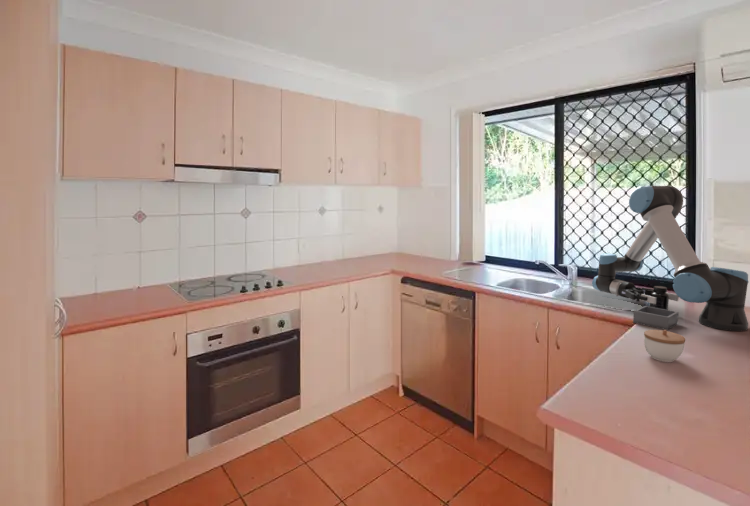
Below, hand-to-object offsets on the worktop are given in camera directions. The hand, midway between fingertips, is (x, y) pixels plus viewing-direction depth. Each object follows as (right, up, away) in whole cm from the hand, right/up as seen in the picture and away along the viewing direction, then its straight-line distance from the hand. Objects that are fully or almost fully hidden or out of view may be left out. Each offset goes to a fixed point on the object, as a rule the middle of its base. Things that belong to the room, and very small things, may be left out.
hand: (667, 299), depth 176 cm
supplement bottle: (-1, -7, +4) cm, 8 cm away
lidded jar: (-34, -14, -45) cm, 58 cm away
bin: (-12, -9, -10) cm, 17 cm away
